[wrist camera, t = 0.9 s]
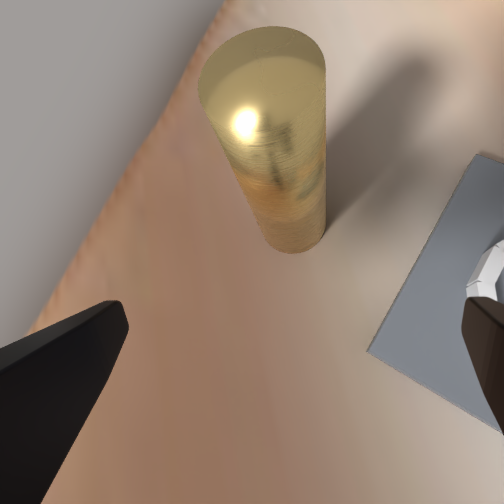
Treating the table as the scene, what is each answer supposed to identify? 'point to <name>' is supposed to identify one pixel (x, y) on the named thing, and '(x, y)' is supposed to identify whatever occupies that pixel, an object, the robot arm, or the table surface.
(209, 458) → the table surface
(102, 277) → the table surface
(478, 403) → the grey square base plate
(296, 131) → the brass shaft
